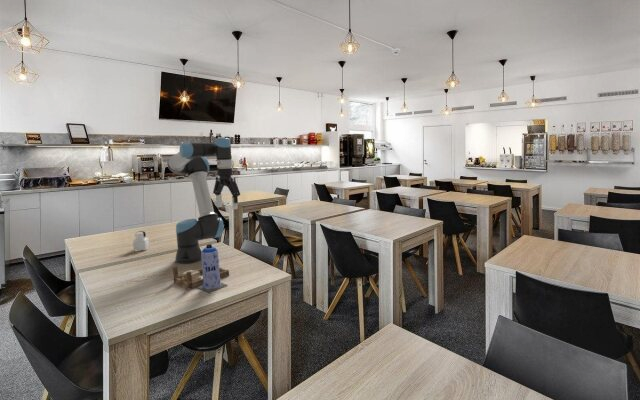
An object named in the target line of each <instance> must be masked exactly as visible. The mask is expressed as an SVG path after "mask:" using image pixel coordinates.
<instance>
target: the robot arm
mask: <svg viewBox="0 0 640 400" xmlns="http://www.w3.org/2000/svg"><path fill="white" fill-rule="evenodd" d="M231 146H232V144H231V139H230V138H229V137H218V138H215V140H214V142H182V143H180V145H179V151H178V152H177V153H176V154H174V155H173V154H172V155H171V156H170V157H169V158H168V159H167V168H168V169H169V171H171V172H172V173H173V174H176V175H181V176H183V175H187V176H188V179H190V180H191V182H192V186H193V192H194V195H195V199H196V203H197V204H196V205H197V208H198V209H197V210H198V213H199V216H198V217H197V219H196V218H188V219H184V220H181V221H179V222H177V223H176V226H175V233H176V234H175V235H176V244H177V250H176V252H175V253H176V254H175V259H174V260H175V262H176V263H177V264H192V263H195V262H196V263H197V262H199V261H202V258H201V252H202V249H201V246H200V244H199V242H200V241H203V240H209V239H215V238H219V237H221V236H222V235H223V232H224V221H223V219H222V217H219V215H218V213H216V212H215V210H214V206H213V205H214V204H213V201H212V198H211V193H210V189H209V184H208V180H207V176H208V173H209V172H210V161H208V159H207V158H209V157H212V158H213V157H215V158H216V168H217V170H216V171H217V173H216V174H217V176H216V177H215V183H214V187H213V192H212V194H214V195H215V200H216V207H217V208H222V207H223V201H222V200H223V199H222V191H223V189H224V187H226V188H228V190H229V192H230V194H231V195H232V196H231V203H232V210H238V208H239V207H238V206H239V205H238V203H239V200H238V197H239V196H241V191H240V190H239V186H238V184H237V182H236V177H232V176H233V168H232V167H233V163H232V162H233V161H232V147H231Z"/></svg>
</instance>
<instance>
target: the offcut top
mask: <svg viewBox="0 0 640 400" xmlns="http://www.w3.org/2000/svg"><path fill="white" fill-rule="evenodd" d="M188 271H190V272H191V276H192V280H193V279H195V278H198V277H201V275H200V272H199V271H196V270H194V269H190V270H187V271H184V272H182V275H183V278H186V279H187V273H186V272H188Z"/></svg>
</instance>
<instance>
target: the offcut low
mask: <svg viewBox="0 0 640 400" xmlns="http://www.w3.org/2000/svg"><path fill="white" fill-rule="evenodd" d="M200 279H202V277H201V276H200V277H198V278H195V279H193V280H192V282H194V281H197V280H200ZM182 280H184V281H186V282H187V279H186V278H183V277H182Z"/></svg>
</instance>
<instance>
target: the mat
mask: <svg viewBox="0 0 640 400" xmlns="http://www.w3.org/2000/svg"><path fill="white" fill-rule="evenodd" d="M220 283H221V286H220V287H218V288H215V289H205V288H204V287H203V286H204V284H203V285H200V286H198V287H196V289H199V290H202V291H204V292H206V293H208V294H210V293H212V292H215V291H218V290H220V289H223V288H225V287H228V284H227V283H224V282H221V281H220Z"/></svg>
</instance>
